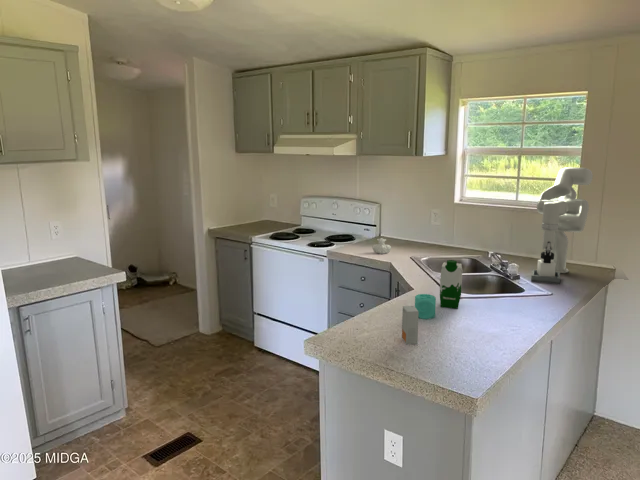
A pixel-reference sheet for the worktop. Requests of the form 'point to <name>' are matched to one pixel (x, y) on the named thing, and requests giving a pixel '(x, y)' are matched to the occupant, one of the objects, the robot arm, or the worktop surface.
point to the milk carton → (450, 284)
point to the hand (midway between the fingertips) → (547, 261)
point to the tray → (545, 278)
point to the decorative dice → (425, 306)
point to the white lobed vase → (381, 247)
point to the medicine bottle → (546, 266)
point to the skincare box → (410, 325)
